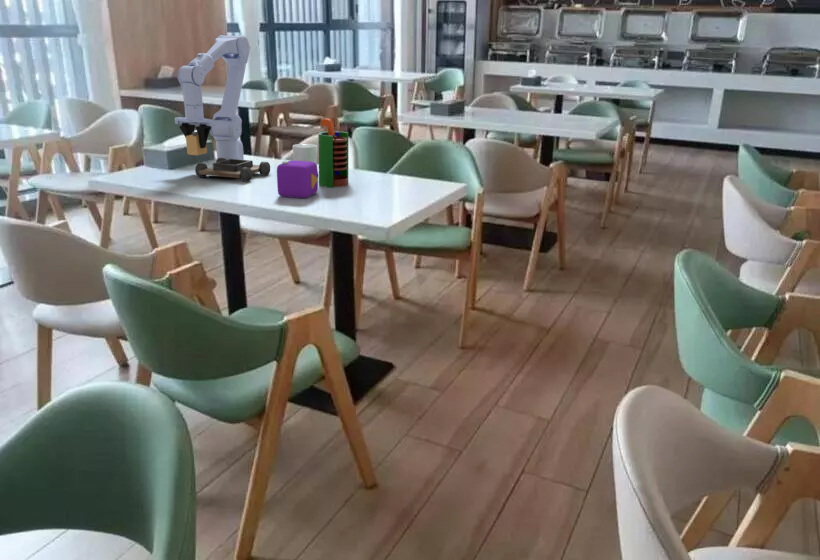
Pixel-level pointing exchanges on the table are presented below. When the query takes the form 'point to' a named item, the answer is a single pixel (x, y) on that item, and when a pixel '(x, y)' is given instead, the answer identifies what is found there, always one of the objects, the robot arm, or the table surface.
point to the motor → (333, 156)
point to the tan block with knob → (194, 145)
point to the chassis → (233, 169)
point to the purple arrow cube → (297, 179)
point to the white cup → (305, 152)
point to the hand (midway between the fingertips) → (197, 147)
